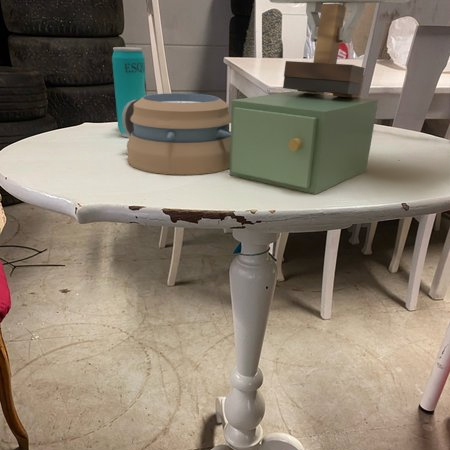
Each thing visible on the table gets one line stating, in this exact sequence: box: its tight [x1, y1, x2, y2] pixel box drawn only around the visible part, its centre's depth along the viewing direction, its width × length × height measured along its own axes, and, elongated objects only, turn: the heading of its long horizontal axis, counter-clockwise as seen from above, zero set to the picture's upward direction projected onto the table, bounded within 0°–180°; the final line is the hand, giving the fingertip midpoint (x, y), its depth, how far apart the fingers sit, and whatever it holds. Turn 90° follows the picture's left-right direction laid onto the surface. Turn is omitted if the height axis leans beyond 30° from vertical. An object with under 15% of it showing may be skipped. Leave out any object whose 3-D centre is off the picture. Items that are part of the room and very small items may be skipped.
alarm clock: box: [122, 92, 231, 176], centre depth 74 cm, size 17×9×23 cm
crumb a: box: [333, 74, 365, 98], centre depth 67 cm, size 3×3×3 cm
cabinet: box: [229, 90, 379, 195], centre depth 66 cm, size 14×18×10 cm
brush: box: [282, 3, 365, 96], centre depth 64 cm, size 10×4×10 cm, turn 53°
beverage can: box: [111, 46, 148, 139], centre depth 87 cm, size 6×6×15 cm
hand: (330, 42), depth 64 cm, fingers closed on brush, 2 cm apart
